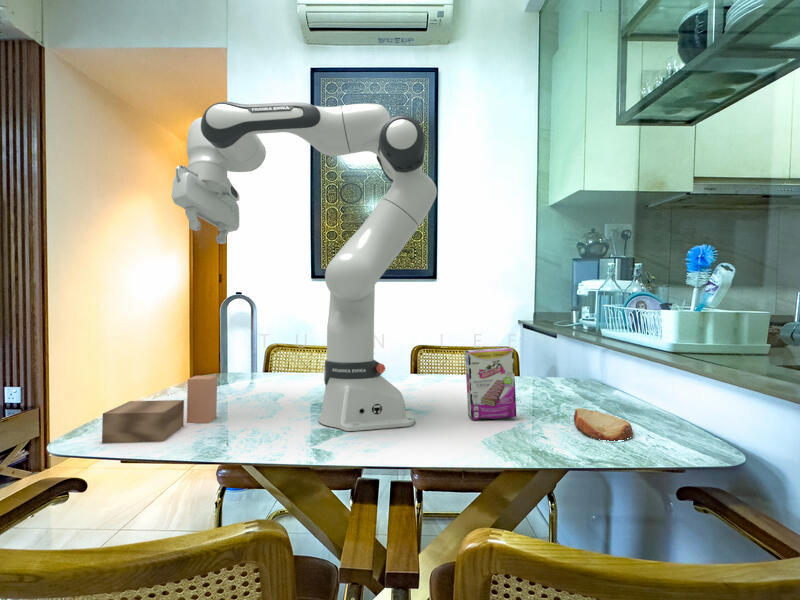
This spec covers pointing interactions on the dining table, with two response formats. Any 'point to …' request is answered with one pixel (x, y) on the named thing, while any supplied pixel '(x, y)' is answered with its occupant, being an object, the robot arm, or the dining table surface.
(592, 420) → the slice of bread
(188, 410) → the terracotta block
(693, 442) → the dining table surface
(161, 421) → the walnut block
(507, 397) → the candy bar box
